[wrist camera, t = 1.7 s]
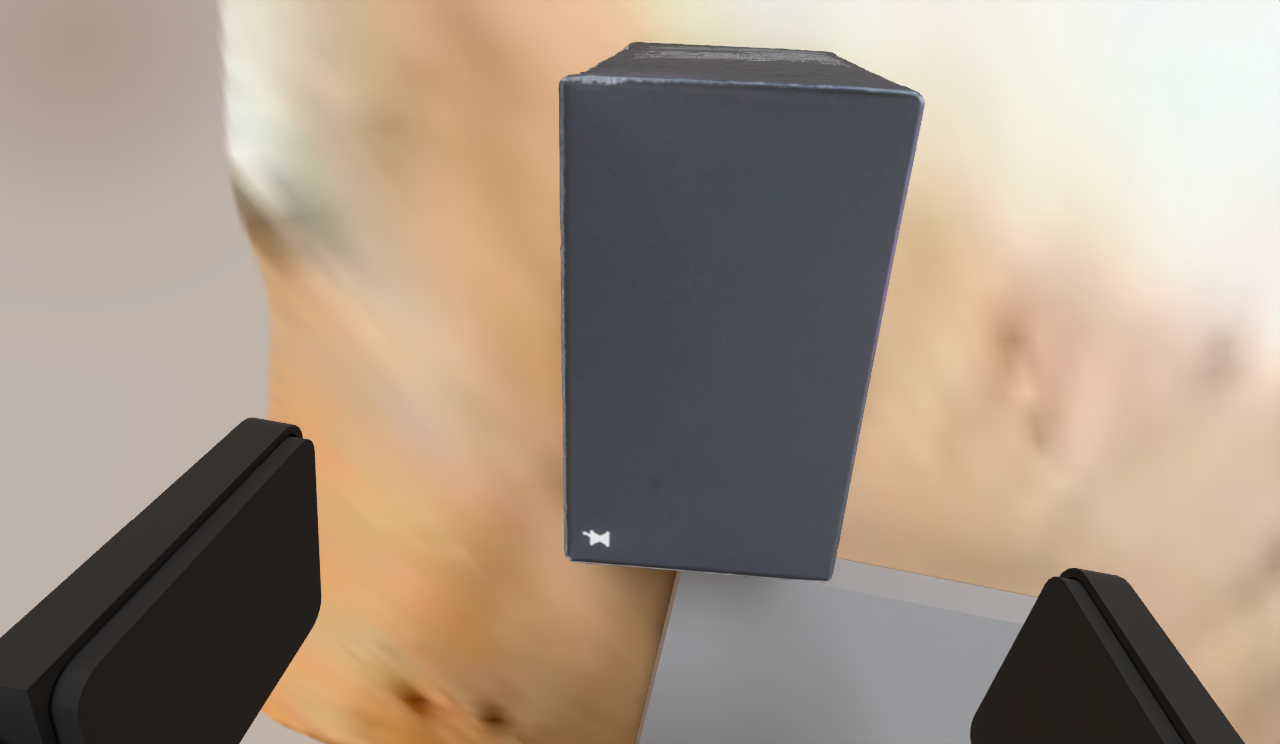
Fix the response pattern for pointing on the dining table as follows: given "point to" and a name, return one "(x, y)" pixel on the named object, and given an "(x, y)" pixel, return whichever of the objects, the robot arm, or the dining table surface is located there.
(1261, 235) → the dining table surface
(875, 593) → the stand
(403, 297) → the dining table surface
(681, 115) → the small box
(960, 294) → the dining table surface
